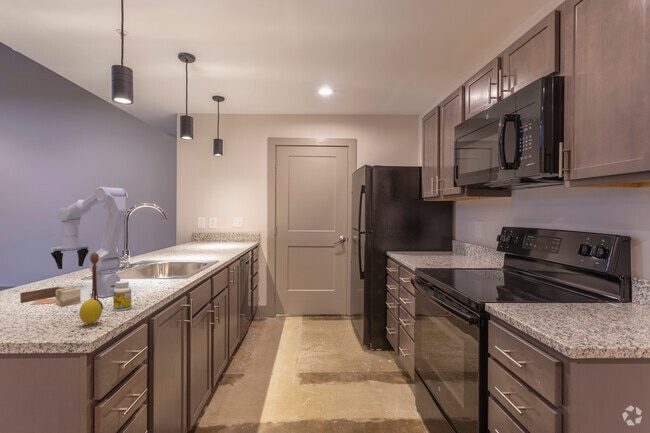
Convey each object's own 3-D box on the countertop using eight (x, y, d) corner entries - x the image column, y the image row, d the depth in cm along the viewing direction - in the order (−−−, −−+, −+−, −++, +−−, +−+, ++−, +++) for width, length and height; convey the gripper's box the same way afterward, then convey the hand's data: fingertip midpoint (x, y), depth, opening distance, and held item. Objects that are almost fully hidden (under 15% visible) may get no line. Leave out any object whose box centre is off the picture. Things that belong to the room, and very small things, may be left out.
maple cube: (80, 303, 124) (80, 288, 124) (63, 307, 119) (63, 291, 119) (73, 301, 126) (72, 287, 126) (55, 305, 122) (55, 290, 122)
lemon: (86, 322, 104) (86, 296, 104) (105, 321, 104) (105, 296, 104) (75, 328, 98) (75, 301, 98) (94, 327, 99) (94, 301, 98)
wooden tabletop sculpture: (86, 308, 118) (85, 251, 117) (101, 306, 121) (101, 251, 120) (87, 312, 113) (86, 253, 113) (103, 310, 116) (103, 252, 116)
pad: (62, 298, 130) (62, 297, 130) (52, 303, 123) (52, 302, 123) (40, 299, 128) (40, 299, 128) (30, 304, 121) (30, 304, 121)
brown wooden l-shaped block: (75, 299, 128) (75, 290, 128) (36, 307, 118) (36, 297, 118) (58, 295, 134) (58, 286, 134) (20, 302, 124) (20, 292, 124)
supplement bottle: (134, 307, 119) (134, 281, 119) (121, 312, 114) (121, 284, 114) (123, 306, 121) (123, 279, 120) (109, 310, 116) (109, 282, 115)
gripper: (84, 234, 151) (84, 264, 151) (45, 236, 138) (45, 269, 138) (92, 235, 147) (92, 265, 148) (53, 237, 135) (53, 270, 135)
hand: (70, 267), depth 143 cm, fingers open, 7 cm apart
